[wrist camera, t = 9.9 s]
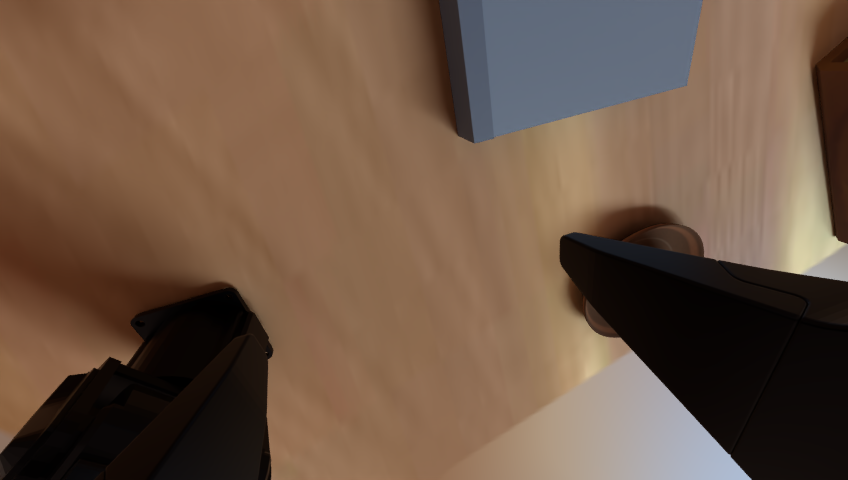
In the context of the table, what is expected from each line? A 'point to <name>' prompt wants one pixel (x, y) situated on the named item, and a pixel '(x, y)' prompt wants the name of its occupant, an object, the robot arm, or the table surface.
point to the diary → (836, 130)
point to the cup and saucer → (657, 237)
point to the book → (560, 57)
